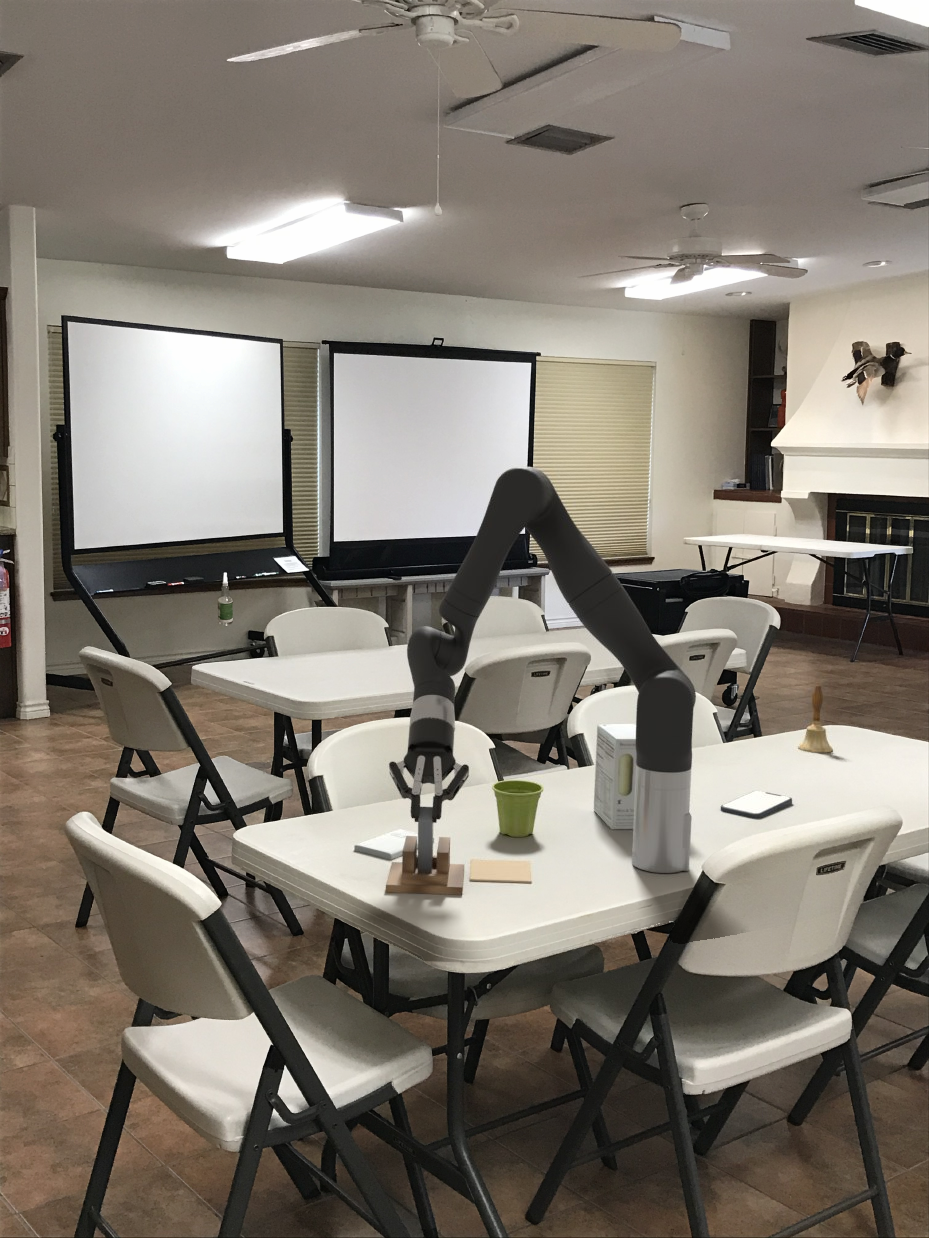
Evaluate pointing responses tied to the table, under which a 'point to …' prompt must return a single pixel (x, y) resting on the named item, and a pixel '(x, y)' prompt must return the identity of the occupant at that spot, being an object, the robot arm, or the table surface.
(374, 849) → the external hard drive
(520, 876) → the cork mat
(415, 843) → the rack
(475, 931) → the table surface
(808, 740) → the hand bell
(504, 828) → the plant pot
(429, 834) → the grey rectangular block
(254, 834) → the table surface
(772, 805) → the phone case
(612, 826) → the supplement box
